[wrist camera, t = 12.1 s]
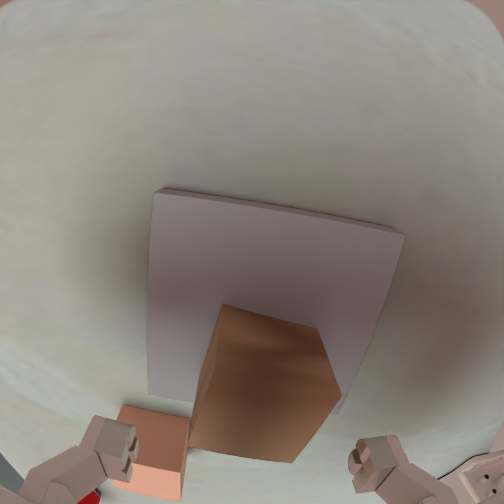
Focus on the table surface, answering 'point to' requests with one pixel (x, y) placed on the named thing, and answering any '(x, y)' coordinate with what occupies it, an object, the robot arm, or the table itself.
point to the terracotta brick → (157, 453)
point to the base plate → (259, 280)
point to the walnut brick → (262, 388)
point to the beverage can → (90, 498)
